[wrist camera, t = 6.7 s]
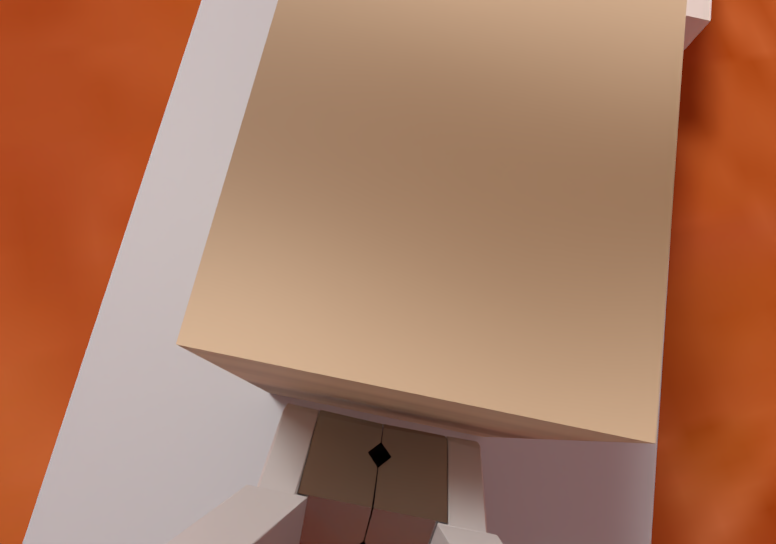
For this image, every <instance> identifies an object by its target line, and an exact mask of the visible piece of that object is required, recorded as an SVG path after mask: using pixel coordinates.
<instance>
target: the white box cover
mask: <svg viewBox="0 0 776 544" xmlns="http://www.w3.org/2000/svg"><path fill="white" fill-rule="evenodd" d="M277 2H278V0H202V1H201V4H200V7H199V10H198V13H197V16H196V19H195V22H194V25H193V28H192V31H191V34H190V37H189V40H188V43H187V46H186V49H185V52H184V55H183V58H182V61H181V65H180V68H179V71H178V74H177V77H176V80H175V83H174V86H173V89H172V92H171V95H170V98H169V101H168V104H167V107H166V110H165V113H164V116H163V119H162V122H161V125H160V128H159V131H158V134H157V137H156V140H155V143H154V146H153V149H152V152H151V155H150V159H149V162H148V165H147V168H146V171H145V174H144V177H143V180H142V183H141V186H140V189H139V192H138V195H137V198H136V201H135V204H134V207H133V210H132V213H131V216H130V219H129V222H128V225H127V228H126V231H125V234H124V237H123V240H122V243H121V246H120V249H119V253H118V256H117V259H116V262H115V265H114V268H113V271H112V274H111V277H110V280H109V283H108V286H107V289H106V292H105V295H104V298H103V301H102V304H101V307H100V310H99V313H98V316H97V319H96V322H95V325H94V328H93V331H92V334H91V337H90V340H89V343H88V347H87V350H86V353H85V356H84V359H83V362H82V365H81V368H80V371H79V374H78V377H77V380H76V383H75V386H74V389H73V392H72V395H71V398H70V401H69V404H68V407H67V410H66V413H65V416H64V419H63V422H62V425H61V428H60V431H59V434H58V438H57V441H56V444H55V447H54V450H53V453H52V456H51V459H50V462H49V465H48V468H47V471H46V474H45V477H44V480H43V483H42V486H41V489H40V492H39V495H38V498H37V501H36V504H35V507H34V510H33V513H32V516H31V519H30V522H29V525H28V528H27V532H26V535H25V538H24V541H23V544H166V543H167V542H169V541H170V540H172V539H173V538H174V537H176V536H177V535H178V534H180V533H181V532H183V531H184V530H185V529H187V528H188V527H189V526H191V525H192V524H194V523H195V522H196V521H198V520H199V519H200V518H202V517H203V516H204V515H206V514H207V513H209V512H210V511H211V510H213V509H214V508H215V507H217V506H218V505H220V504H221V503H222V502H224V501H225V500H226V499H228V498H229V497H231V496H232V495H233V494H235V493H236V492H237V491H239V490H240V489H242V488H243V487H244V486H246V485H251V486H257V485H258V482H259V479H260V476H261V473H262V470H263V467H264V464H265V462H266V459H267V456H268V453H269V450H270V447H271V444H272V442H273V439H274V436H275V433H276V430H277V427H278V424H279V421H280V419H281V416H282V413H283V410H284V408H285V407H286V405H287V404H288V403H290V404H294V405H299V406H303V407H307V408H311V409H315V410H319V411H320V410H324V411H328V412H332V413H337V414H341V415H345V416H350V417H354V418H359V419H363V420H367V421H372V422H376V423H380V424H387V425H392V426H397V427H402V428H407V429H412V430H418V431H423V432H428V433H433V434H438V435H443V436H445V437H446V436H450V437H455V438H461V439H466V440H471V441H476V442H478V443H479V445H480V447H481V457H482V469H483V482H484V495H485V508H486V521H487V533H490V534H495V535H498V537H499V538H500V539H501V541H502V542H503V544H651V536H652V521H653V505H654V489H655V473H656V457H657V442H658V426H659V410H660V394H661V379H662V363H663V349H662V363H661V377H660V392H659V406H658V420H657V434H656V444H652V443H627V442H602V441H576V440H551V439H526V438H501V437H481V436H476V435H472V434H467V433H462V432H457V431H452V430H447V429H442V428H438V427H433V426H428V425H423V424H418V423H413V422H408V421H404V420H399V419H394V418H389V417H384V416H379V415H374V414H370V413H365V412H360V411H355V410H350V409H345V408H340V407H336V406H331V405H326V404H321V403H316V402H311V401H307V400H302V399H297V398H292V397H287V396H282V395H277V394H273V393H268V392H266V391H264V390H262V389H261V388H259V387H257V386H255V385H253V384H251V383H249V382H247V381H245V380H243V379H241V378H239V377H238V376H236V375H234V374H232V373H230V372H228V371H226V370H224V369H222V368H220V367H218V366H216V365H215V364H213V363H211V362H209V361H207V360H205V359H203V358H201V357H199V356H197V355H195V354H194V353H192V352H190V351H188V350H186V349H184V348H182V347H180V346H178V345H176V342H177V339H178V335H179V332H180V329H181V325H182V322H183V319H184V315H185V312H186V309H187V305H188V302H189V298H190V295H191V292H192V288H193V285H194V282H195V278H196V275H197V272H198V268H199V265H200V261H201V258H202V255H203V251H204V248H205V245H206V241H207V238H208V235H209V231H210V228H211V224H212V221H213V218H214V214H215V211H216V208H217V204H218V201H219V198H220V194H221V191H222V187H223V184H224V181H225V177H226V174H227V171H228V167H229V164H230V160H231V157H232V154H233V150H234V147H235V144H236V140H237V137H238V134H239V130H240V127H241V123H242V120H243V117H244V113H245V110H246V107H247V103H248V100H249V97H250V93H251V90H252V86H253V83H254V80H255V76H256V73H257V70H258V66H259V63H260V60H261V56H262V53H263V49H264V46H265V43H266V39H267V36H268V33H269V29H270V26H271V23H272V19H273V16H274V12H275V9H276V6H277ZM670 237H671V235H670ZM669 252H670V249H669ZM668 268H669V263H668ZM667 284H668V278H667ZM666 300H667V292H666ZM665 315H666V306H665ZM664 331H665V320H664ZM663 347H664V335H663ZM319 413H320V412H319Z"/></svg>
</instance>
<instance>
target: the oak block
mask: <svg viewBox="0 0 776 544" xmlns="http://www.w3.org/2000/svg"><path fill="white" fill-rule="evenodd" d="M686 7H687V0H278V2H277V6H276V9H275V12H274V16H273V19H272V23H271V26H270V29H269V33H268V36H267V39H266V43H265V46H264V49H263V53H262V56H261V60H260V63H259V66H258V70H257V73H256V76H255V80H254V83H253V86H252V90H251V93H250V97H249V100H248V103H247V107H246V110H245V113H244V117H243V120H242V123H241V127H240V130H239V134H238V137H237V140H236V144H235V147H234V150H233V154H232V157H231V160H230V164H229V167H228V171H227V174H226V177H225V181H224V184H223V187H222V191H221V194H220V198H219V201H218V204H217V208H216V211H215V214H214V218H213V221H212V224H211V228H210V231H209V235H208V238H207V241H206V245H205V248H204V251H203V255H202V258H201V261H200V265H199V268H198V272H197V275H196V278H195V282H194V285H193V288H192V292H191V295H190V298H189V302H188V305H187V309H186V312H185V315H184V319H183V322H182V325H181V329H180V332H179V335H178V339H177V342H176V345H178V346H180V347H182V348H184V349H186V350H188V351H190V352H192V353H194V354H195V355H197V356H199V357H201V358H203V359H205V360H207V361H209V362H211V363H213V364H215V365H216V366H218V367H220V368H222V369H224V370H226V371H228V372H230V373H232V374H234V375H236V376H238V377H239V378H241V379H243V380H245V381H247V382H249V383H251V384H253V385H255V386H257V387H259V388H261V389H262V390H264V391H266V392H268V393H273V394H277V395H282V396H287V397H292V398H297V399H302V400H307V401H311V402H316V403H321V404H326V405H331V406H336V407H340V408H345V409H350V410H355V411H360V412H365V413H370V414H374V415H379V416H384V417H389V418H394V419H399V420H404V421H408V422H413V423H418V424H423V425H428V426H433V427H438V428H442V429H447V430H452V431H457V432H462V433H467V434H472V435H476V436H481V437H501V438H526V439H551V440H576V441H602V442H627V443H652V444H656V434H657V420H658V406H659V392H660V377H661V363H662V349H663V335H664V320H665V306H666V292H667V278H668V263H669V249H670V235H671V221H672V206H673V192H674V178H675V164H676V149H677V135H678V121H679V106H680V92H681V78H682V64H683V49H684V35H685V21H686Z"/></svg>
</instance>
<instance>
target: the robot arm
mask: <svg viewBox="0 0 776 544" xmlns="http://www.w3.org/2000/svg"><path fill="white" fill-rule="evenodd" d="M319 412H320V413H319ZM166 544H503V542H502V541H501V539H500V538H499V537H498V535H495V534H490V533H487V521H486V508H485V495H484V482H483V469H482V457H481V447H480V445H479V443H478V442H476V441H471V440H466V439H461V438H455V437H450V436H446V437H445V436H443V435H438V434H433V433H428V432H423V431H418V430H412V429H407V428H402V427H397V426H392V425H387V424H380V423H376V422H372V421H367V420H363V419H359V418H354V417H350V416H345V415H341V414H337V413H332V412H328V411H324V410H320V411H319V410H315V409H311V408H307V407H303V406H299V405H294V404H290V403H288V404H287V405H286V407H285V408H284V410H283V413H282V416H281V419H280V421H279V424H278V427H277V430H276V433H275V436H274V439H273V442H272V444H271V447H270V450H269V453H268V456H267V459H266V462H265V464H264V467H263V470H262V473H261V476H260V479H259V482H258V485H257V486H251V485H246V486H244V487H243V488H242V489H240V490H239V491H237V492H236V493H235V494H233V495H232V496H231V497H229V498H228V499H226V500H225V501H224V502H222V503H221V504H220V505H218V506H217V507H215V508H214V509H213V510H211V511H210V512H209V513H207V514H206V515H204V516H203V517H202V518H200V519H199V520H198V521H196V522H195V523H194V524H192V525H191V526H189V527H188V528H187V529H185V530H184V531H183V532H181V533H180V534H178V535H177V536H176V537H174V538H173V539H172V540H170V541H169V542H167V543H166Z"/></svg>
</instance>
